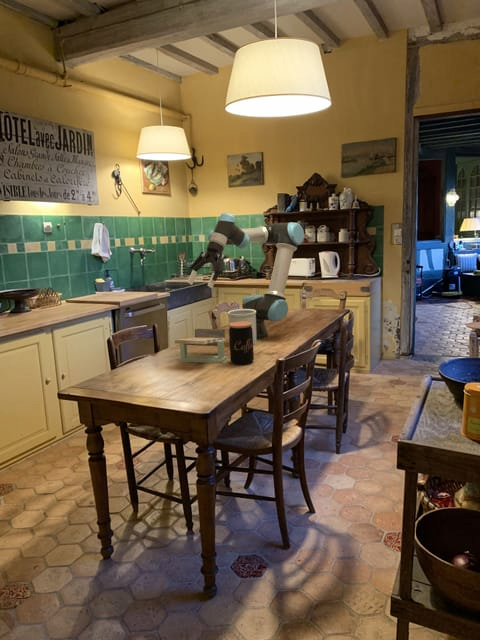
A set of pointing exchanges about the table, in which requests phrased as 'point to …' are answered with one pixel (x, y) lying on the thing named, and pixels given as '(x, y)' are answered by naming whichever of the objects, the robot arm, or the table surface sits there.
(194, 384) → the table surface
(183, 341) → the seesaw plank
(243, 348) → the coffee jar
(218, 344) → the seesaw stand
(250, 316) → the utensil holder
